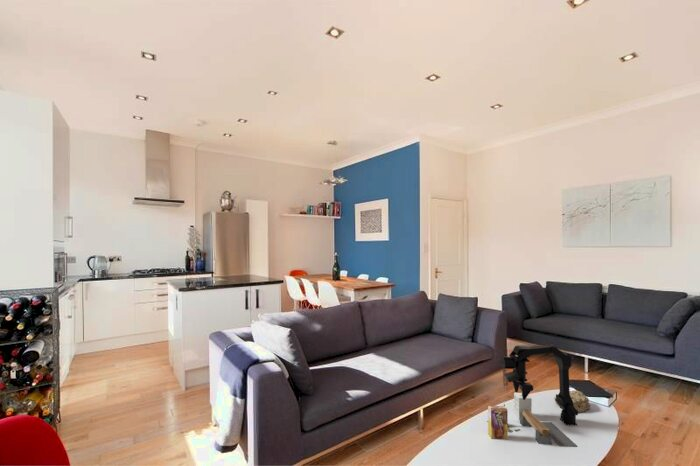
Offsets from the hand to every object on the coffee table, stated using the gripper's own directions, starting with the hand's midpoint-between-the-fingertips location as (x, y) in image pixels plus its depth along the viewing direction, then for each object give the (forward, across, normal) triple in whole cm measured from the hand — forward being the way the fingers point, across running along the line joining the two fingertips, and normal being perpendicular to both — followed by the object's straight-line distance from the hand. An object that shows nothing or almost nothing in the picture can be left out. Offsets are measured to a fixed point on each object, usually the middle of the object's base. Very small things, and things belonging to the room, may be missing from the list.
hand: (520, 395), depth 190 cm
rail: (+11, +12, +3) cm, 16 cm away
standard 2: (+15, +20, +3) cm, 25 cm away
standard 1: (+15, +4, +2) cm, 15 cm away
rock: (+15, -20, +43) cm, 50 cm away
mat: (+15, +11, +14) cm, 23 cm away
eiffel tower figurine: (+15, +5, -12) cm, 20 cm away
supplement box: (+15, -5, +4) cm, 16 cm away
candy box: (+15, +16, -19) cm, 29 cm away
